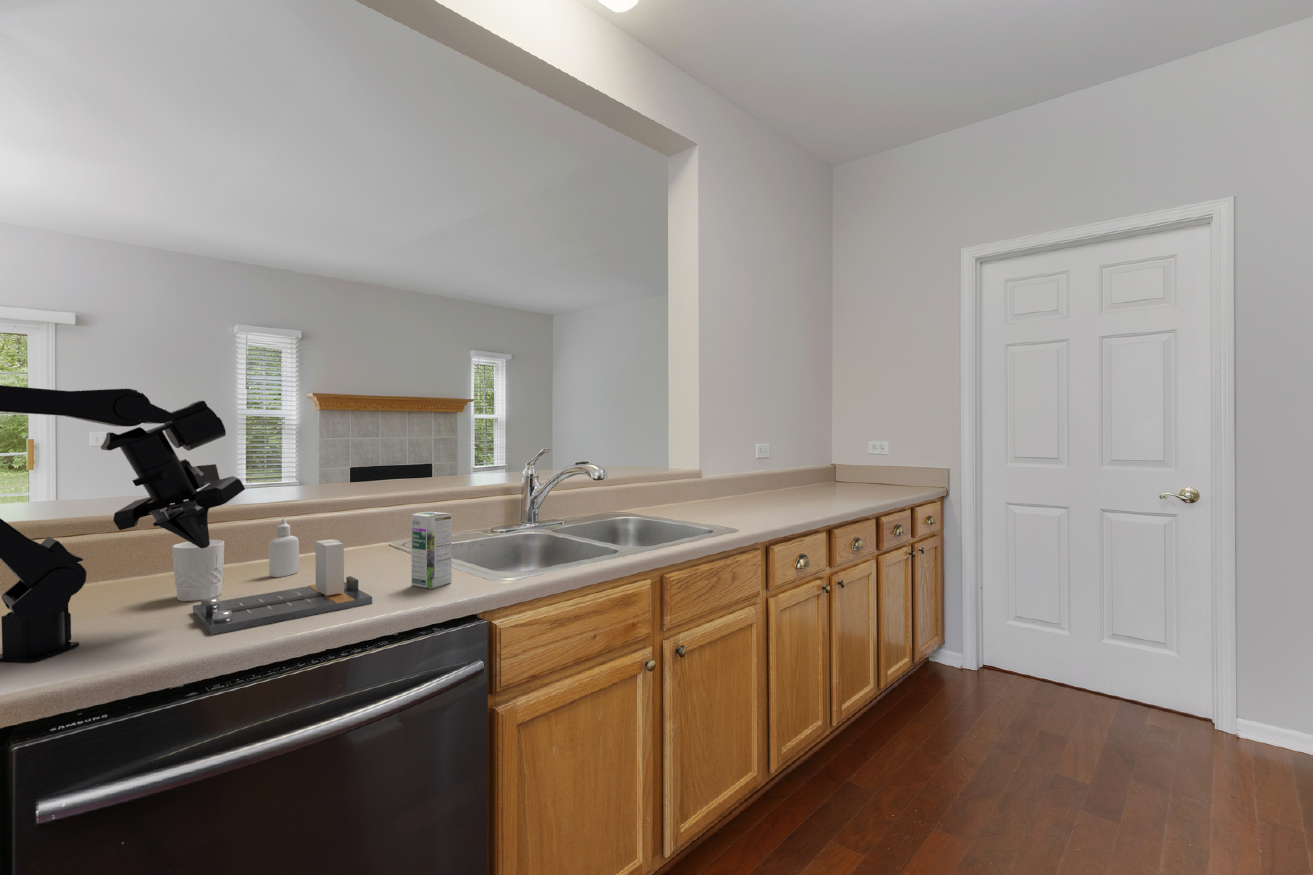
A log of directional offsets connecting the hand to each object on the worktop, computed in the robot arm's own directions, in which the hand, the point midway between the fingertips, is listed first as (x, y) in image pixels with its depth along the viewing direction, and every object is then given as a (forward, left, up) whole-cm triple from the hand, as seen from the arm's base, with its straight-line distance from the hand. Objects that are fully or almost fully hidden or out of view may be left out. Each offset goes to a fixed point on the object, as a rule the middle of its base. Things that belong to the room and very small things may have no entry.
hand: (205, 546), depth 103 cm
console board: (+6, -9, -12) cm, 16 cm away
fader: (+11, -14, -10) cm, 21 cm away
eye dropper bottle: (+29, +6, -12) cm, 32 cm away
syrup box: (+23, -29, -12) cm, 39 cm away
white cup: (+12, +11, -12) cm, 20 cm away
